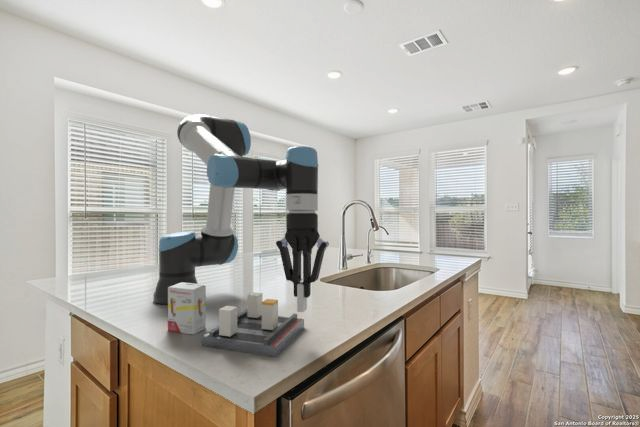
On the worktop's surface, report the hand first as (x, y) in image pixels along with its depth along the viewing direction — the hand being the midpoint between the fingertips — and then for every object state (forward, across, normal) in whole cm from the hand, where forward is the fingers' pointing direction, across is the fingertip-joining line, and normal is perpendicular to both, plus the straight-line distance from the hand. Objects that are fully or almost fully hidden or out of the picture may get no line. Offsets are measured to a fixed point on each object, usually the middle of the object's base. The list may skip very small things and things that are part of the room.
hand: (302, 310), depth 76 cm
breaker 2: (+5, -16, +7) cm, 18 cm away
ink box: (+8, -32, -2) cm, 33 cm away
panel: (+8, -12, 0) cm, 15 cm away
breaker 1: (+5, -16, -6) cm, 18 cm away
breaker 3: (+5, -9, 0) cm, 10 cm away
